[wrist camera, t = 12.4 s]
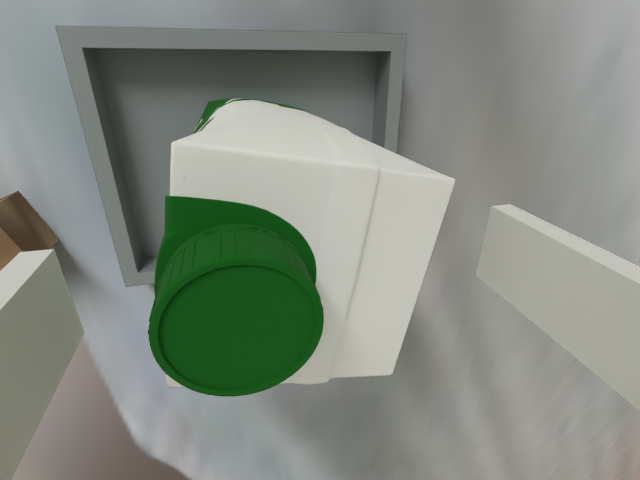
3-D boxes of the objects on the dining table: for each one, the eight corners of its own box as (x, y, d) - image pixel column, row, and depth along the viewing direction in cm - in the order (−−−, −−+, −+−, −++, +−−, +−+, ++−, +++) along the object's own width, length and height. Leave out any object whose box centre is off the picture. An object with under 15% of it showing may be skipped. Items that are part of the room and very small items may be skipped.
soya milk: (194, 83, 24) (121, 118, 6) (326, 107, 26) (542, 180, 9) (189, 210, 27) (131, 472, 9) (306, 220, 30) (434, 438, 12)
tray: (75, 31, 21) (55, 25, 19) (387, 37, 26) (406, 33, 23) (134, 266, 28) (125, 287, 26) (374, 240, 33) (387, 254, 30)
